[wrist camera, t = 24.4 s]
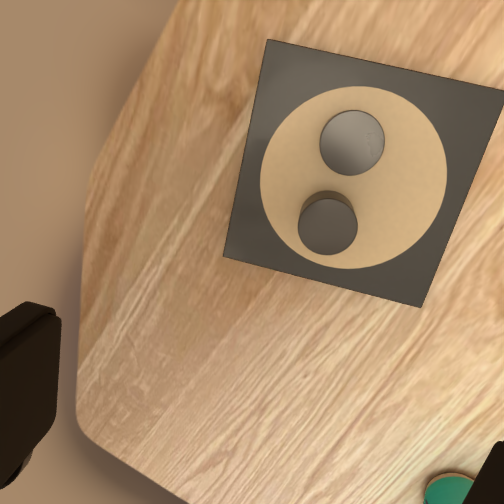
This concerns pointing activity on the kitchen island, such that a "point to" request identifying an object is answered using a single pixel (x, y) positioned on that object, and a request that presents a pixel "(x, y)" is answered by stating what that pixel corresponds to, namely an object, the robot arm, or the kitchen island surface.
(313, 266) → the face board
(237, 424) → the kitchen island surface
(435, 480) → the beverage can
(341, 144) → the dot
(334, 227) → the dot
